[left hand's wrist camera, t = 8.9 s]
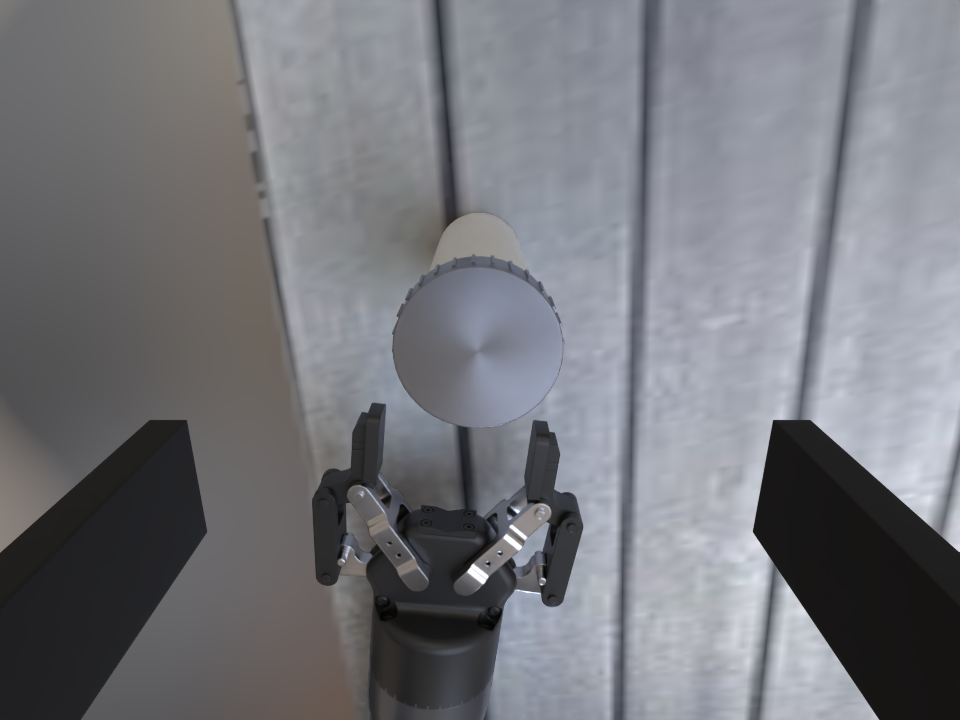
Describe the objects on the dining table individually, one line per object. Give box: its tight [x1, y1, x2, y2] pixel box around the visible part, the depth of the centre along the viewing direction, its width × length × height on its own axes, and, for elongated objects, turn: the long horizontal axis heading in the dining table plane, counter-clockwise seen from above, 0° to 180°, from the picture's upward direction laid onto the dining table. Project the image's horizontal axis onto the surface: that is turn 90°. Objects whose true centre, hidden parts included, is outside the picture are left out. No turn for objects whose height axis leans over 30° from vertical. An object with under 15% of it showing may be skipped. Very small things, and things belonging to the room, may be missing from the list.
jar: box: [428, 213, 528, 273], centre depth 28 cm, size 5×5×16 cm
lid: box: [392, 254, 564, 428], centre depth 21 cm, size 6×6×2 cm
